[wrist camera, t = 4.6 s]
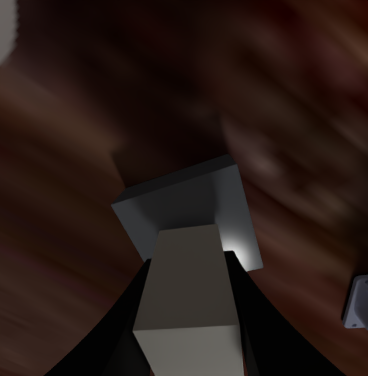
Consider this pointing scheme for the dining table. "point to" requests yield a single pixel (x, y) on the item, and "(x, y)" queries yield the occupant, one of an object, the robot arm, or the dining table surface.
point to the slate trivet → (191, 208)
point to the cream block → (189, 307)
